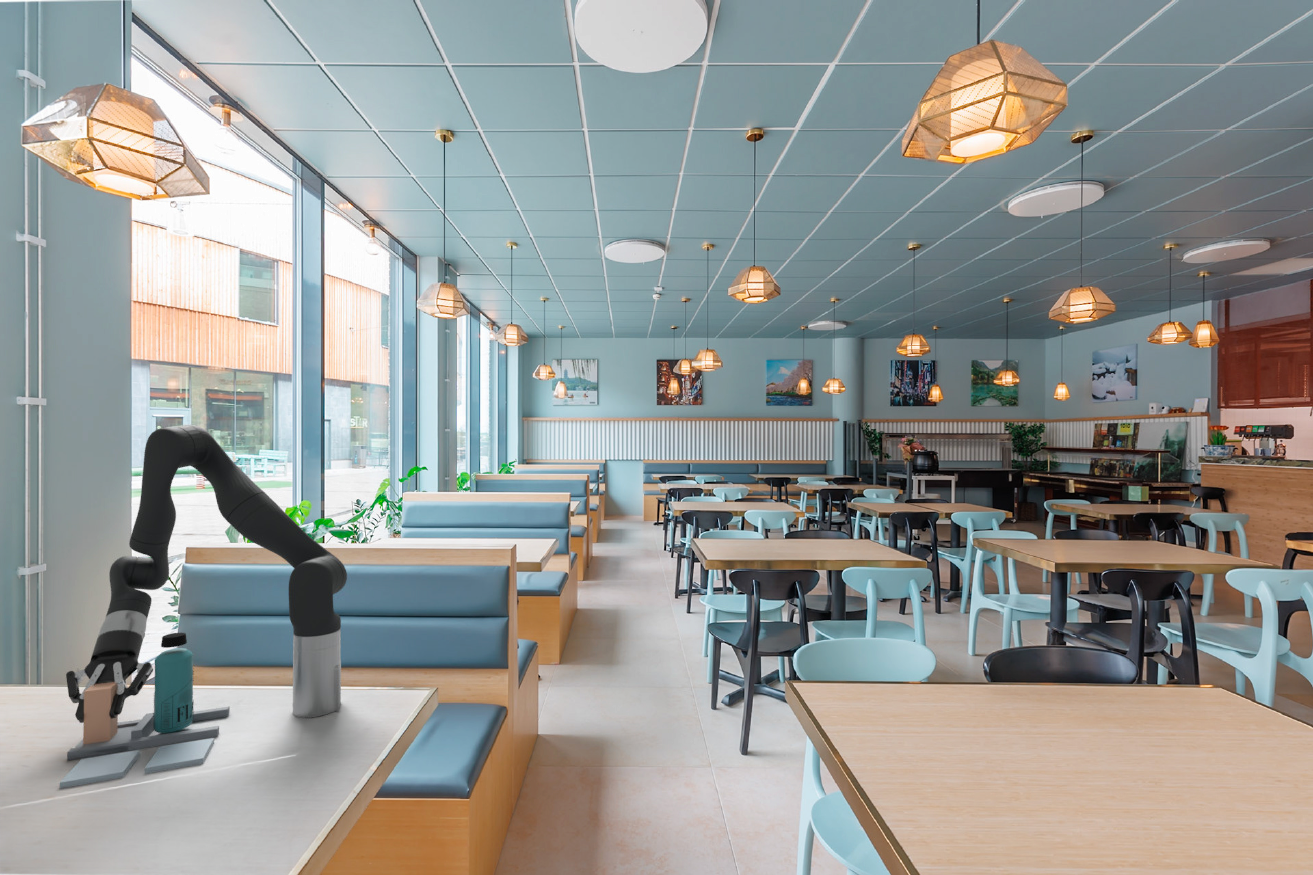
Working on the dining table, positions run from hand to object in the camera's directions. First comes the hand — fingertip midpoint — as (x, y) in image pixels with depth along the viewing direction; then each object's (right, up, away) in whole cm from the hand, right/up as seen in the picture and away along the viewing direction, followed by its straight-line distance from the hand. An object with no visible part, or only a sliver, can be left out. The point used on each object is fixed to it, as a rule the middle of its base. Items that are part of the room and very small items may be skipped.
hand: (97, 718), depth 121 cm
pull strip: (+7, -6, +5) cm, 10 cm away
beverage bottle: (+10, -6, +6) cm, 13 cm away
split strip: (+14, -6, -6) cm, 16 cm away
